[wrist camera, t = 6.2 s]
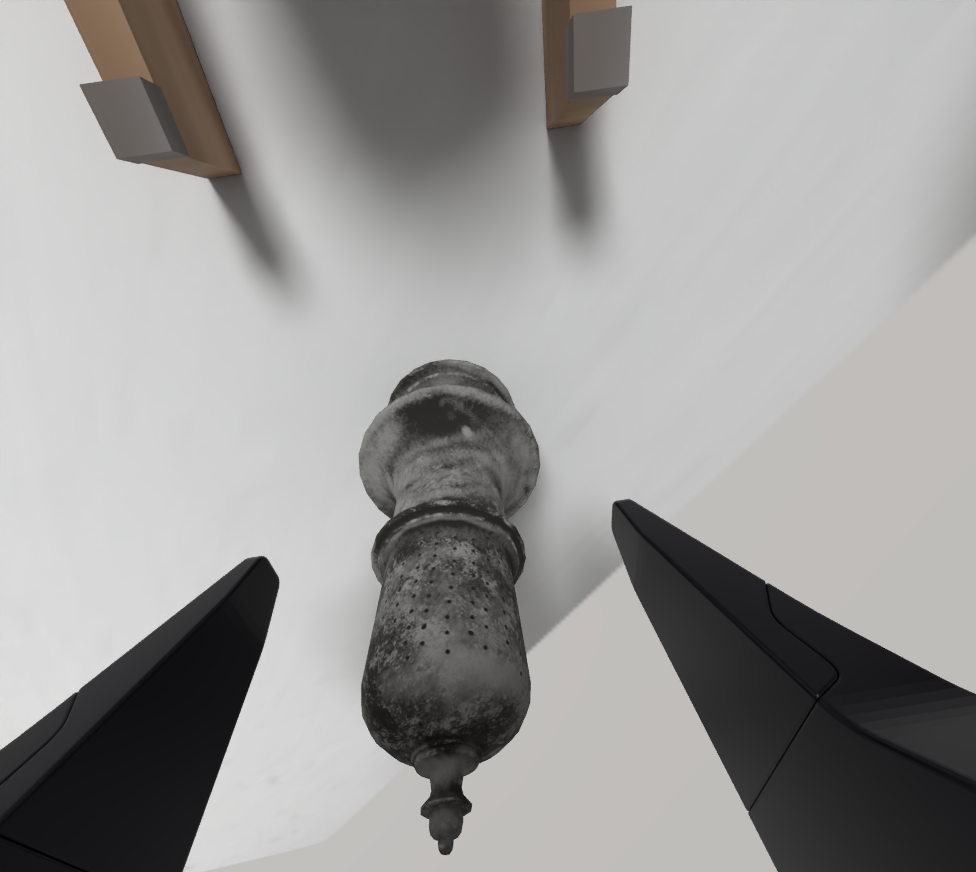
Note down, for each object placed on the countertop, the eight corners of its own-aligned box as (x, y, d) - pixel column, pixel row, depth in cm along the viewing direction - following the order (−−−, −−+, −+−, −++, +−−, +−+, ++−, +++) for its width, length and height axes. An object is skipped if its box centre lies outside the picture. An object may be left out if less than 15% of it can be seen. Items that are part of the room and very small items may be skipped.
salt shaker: (456, 501, 17) (459, 928, 6) (349, 425, 15) (85, 897, 4) (551, 418, 15) (762, 816, 5) (446, 317, 13) (408, 663, 2)
